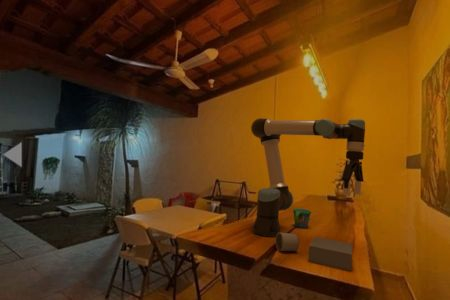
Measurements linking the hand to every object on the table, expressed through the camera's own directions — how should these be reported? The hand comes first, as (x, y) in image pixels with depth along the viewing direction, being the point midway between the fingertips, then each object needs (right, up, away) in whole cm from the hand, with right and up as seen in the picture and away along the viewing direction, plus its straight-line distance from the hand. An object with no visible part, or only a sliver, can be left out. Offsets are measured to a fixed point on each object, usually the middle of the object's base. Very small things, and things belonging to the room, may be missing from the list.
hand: (351, 194), depth 122 cm
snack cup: (-15, -25, +32) cm, 43 cm away
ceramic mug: (-35, -22, -11) cm, 43 cm away
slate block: (-19, -23, -20) cm, 36 cm away
